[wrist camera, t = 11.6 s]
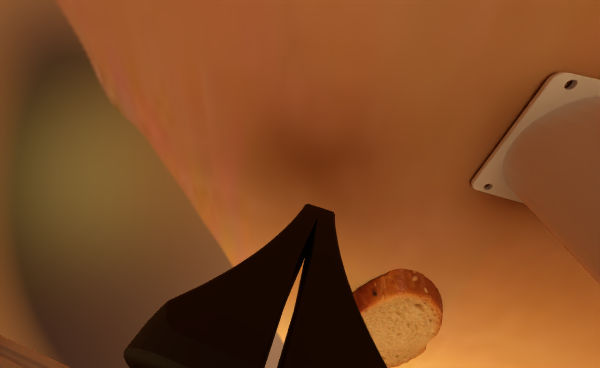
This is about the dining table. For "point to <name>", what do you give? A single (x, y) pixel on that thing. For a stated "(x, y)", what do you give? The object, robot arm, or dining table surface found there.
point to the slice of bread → (400, 314)
